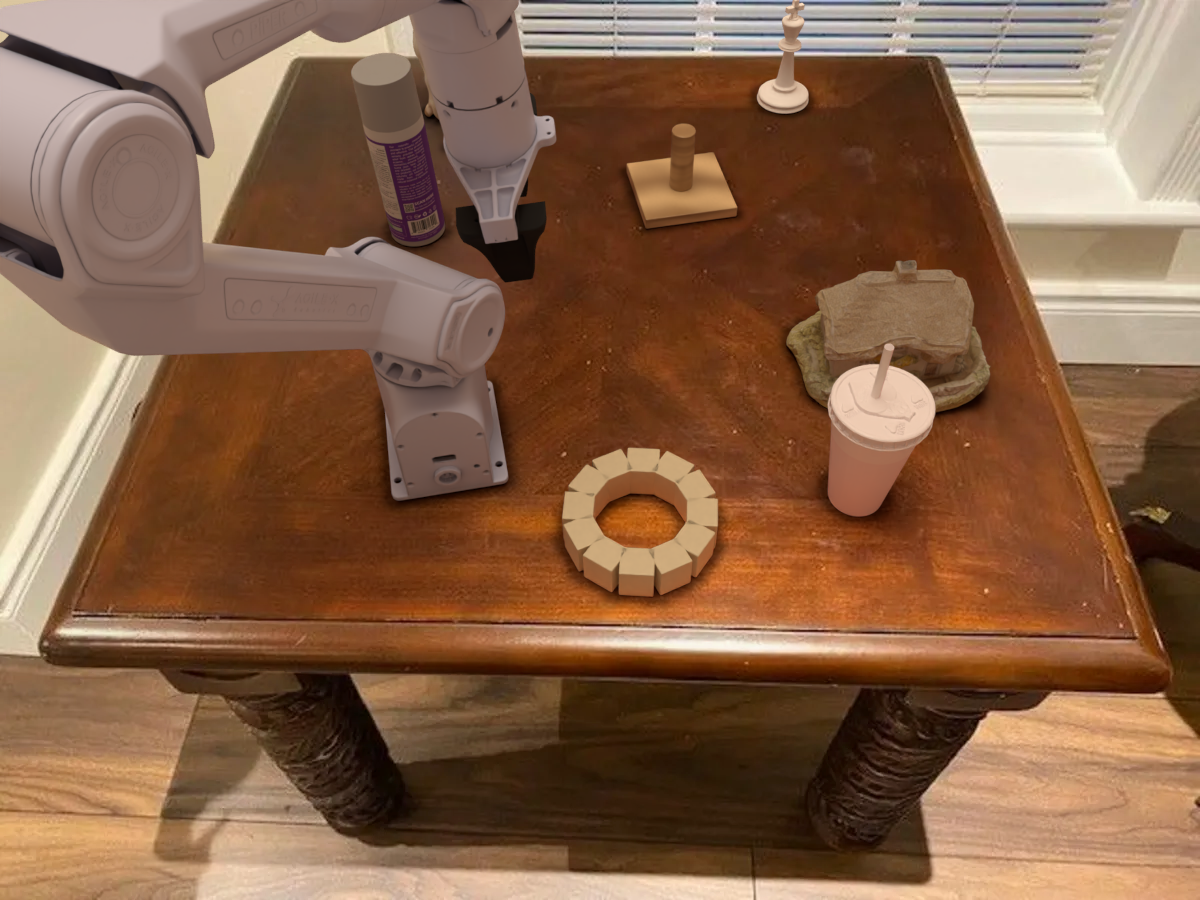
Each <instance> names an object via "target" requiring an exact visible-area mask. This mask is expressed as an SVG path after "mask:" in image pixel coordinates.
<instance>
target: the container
mask: <svg viewBox="0 0 1200 900" xmlns="http://www.w3.org/2000/svg"><path fill="white" fill-rule="evenodd" d="M350 74H351V79H352V83H353V88H354V92H355V97H356V101H357V105H358V109H359V115H360V118H361V122H362V127H363V132H364V136H365V140H366V144H367V147H368V151H369V155H370V158H371V162H372V166H373V170H374V174H375V178H376V181H377V186H378V190H379V193H380V197H381V200H382V204H383V208H384V212H385V215H386V219H387V223H388V227H389V231H390V234H391V237H392V238H393V240H394V241H395V242H397V243H398V244H400V245H402V246H405V247H406V246H407V247H421V246H426V245H430V244H431V243H434V242H435V241H437V240H439V238H440V237H441V236H442V235H443V234H444V232H445V231H446V221H445V216H444V215H445V214H444V211H443V206H442V205H443V204H442V201H441V197H440V190H439V186H438V181H437V177H436V171H435V167H434V163H433V157H432V153H431V147H430V143H429V139H428V134H427V129H426V124H425V119H424V116H423V112H422V106H421V103H420V98H419V95H418V90H417V85H416V82H415V77H414V73H413V70H412V64H411V61H410V60H409V59H408V58H407V57H405V56H404V55H402V54H398V53H395V52H380V53H379V52H378V53H374V54H371V55H367V56H365V57H363V58H361V59H360V60H358V61H357V62H356V63H355V64H354V65H353V67H352V68H351V71H350Z"/></svg>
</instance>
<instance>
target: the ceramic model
mask: <svg viewBox="0 0 1200 900" xmlns="http://www.w3.org/2000/svg"><path fill="white" fill-rule="evenodd" d="M917 266H918V264H917V261H916V260H914V259H912V260H911V259H909V260H906V261H902V260H897V261H895V263H894V267H893V269H892V271H883V270H881V271H880V270H879V271H877V270H870V271H869V270H868V271H866V272H863V273H862V272H861V273H859V274H857V276H856V277H854V278H852V279H850V280H847V281H844V282H841V283H837V284H835V285H833V286H832V287H827V288H823V289H821V290H819V291H818V292H817V293H816V295H815V296H814V301H815V305H816V306H817V307H818V308H819V310H818V311H817V312H815V314H813V315H810V316H809V317H807V319H805V320H803V321H800V322H798V324H796V325H794V327H792V329H790V331H789V333H788V335H787V337H786V341H785V343H786V346H787V347H788V349H789V350H790V351H791V353H792V354H793V356H794V358H795V359H796V362H797V364H798V367H799V369H800V371H801V375H802V379H803V382H804V386H805V389H806V391H807V394H808V396H810V397H811V398H812V399H813V400H815V402H817V403H819V405H821V406H822V407H824V408H826V409H828V400H829V396H830V394H831V391H832V387H833V385H834V383H835V382H836V380H837V379H838V378H839V377H840V376H841V375H842V374H843V373H845V372H846V371H848V370H850V369H852V368H855V367H858V366H862V365H869V364H880V360H881V357H882V353H883V350H884V346H885V345H886V344H892V345H893V346H894V351H893V354H892V357H891V361H890V364H889V366H893V367H897V368H900V369H902V370H905V371H907V372H909V373H911V374H912V375H914V376H915V377H917V378H918V379H919V380H921V381H922V382H923V383H924V384H925V385H926V387H927V388H928V389H929V391H930V392H931V394H932V396H933V399H934V402H935V413H940V412H943V411H947V410H952V409H956V408H959V407H961V406H962V405H965V404H967V403H969V402H971V401H973V400H974V399H975V398H976V397H977V396H979V394H981V393H982V392H983V391H984V390H985V388H986V386H987V385H988V383H989V381H990V377H991V372H990V368H991V365H989V364H988V362H987V359H986V358H987V357H986V355H985V352H984V351H983V342H982V338H981V336H980V335H979V333H978V332H977V331H978V330H977V328H976V326H973V321H974V312H975V311H974V310H975V302H974V299H973V295H972V294H971V289H970V288H969V286H968V283H967V280H966V279H964V278H963V277H959V276H957V275H955V274H954V273H953V271H952V270H950V269H917V268H918V267H917Z"/></svg>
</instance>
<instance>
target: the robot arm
mask: <svg viewBox="0 0 1200 900" xmlns="http://www.w3.org/2000/svg"><path fill="white" fill-rule="evenodd" d="M519 4H520V0H38V1H31V2H24V3H23V2H22V3H17V4H10V5H5V6H1V7H0V32H2V33H4V34H6V35H7V36H6V37H5V39H3V41H0V275H1V276H2V277H3V278H5V279H6V280H7V281H8V282H10V283H11V284H12V285H13V286H14V287H16V288H17V289H18V290H19V291H21V292H22V293H23V294H24V295H25V296H27V297H28V298H29V299H30V300H32V301H33V302H34V303H35V304H36V305H38V306H39V307H40V308H41V309H43V310H44V311H45V312H47V314H49V315H50V316H51V317H52V318H53V319H55V320H56V321H57V322H58V323H60V325H62V326H64V327H65V328H66V329H68V330H69V331H71V332H74V333H76V334H78V335H80V336H81V337H85V338H87V339H89V340H91V341H92V342H95V343H97V344H99V345H101V346H103V347H105V348H108V349H109V350H112V351H114V352H115V353H118V354H122V355H127V356H132V357H139V356H140V357H141V356H144V357H145V356H174V355H175V356H178V355H208V354H209V355H210V354H211V355H212V354H214V355H215V354H239V353H240V354H244V353H245V354H247V353H248V354H249V353H279V352H282V353H283V352H284V353H285V352H314V351H315V352H317V351H318V352H319V351H345V350H346V351H350V350H351V351H352V350H353V351H354V350H362V351H364V352H366V353H367V354H368V356H369V358H370V361H371V365H372V369H373V372H374V376H375V380H376V383H377V386H378V390H379V393H380V398H381V401H382V404H383V408H384V413H385V414H384V415H385V416H384V417H385V428H386V440H387V441H386V443H387V451H388V465H389V478H390V479H389V480H390V491H391V496H392V499H393V500H395V501H399V502H400V501H407V500H412V499H419V498H424V497H432V496H438V495H444V494H450V493H455V492H461V491H468V490H474V489H475V490H476V489H481V488H486V487H492V486H493V487H494V486H498V485H499V486H500V485H503V484H506V483H507V482H508V481H509V472H508V471H509V470H508V467H507V460H506V454H505V449H504V443H503V436H502V431H501V426H500V420H499V419H500V418H499V412H498V408H497V407H498V406H497V403H496V396H495V390H494V384H493V382H492V381H491V380H488V379H487V377H488V376H487V371H486V363H487V362H488V361H489V359H490V358H491V357H492V356H493V354H494V352H495V350H496V348H497V346H498V344H499V342H500V340H501V336H502V334H503V331H504V325H505V318H506V306H505V302H504V295H503V293H502V289H501V288H500V286H499V285H498V284H497V282H495V281H493V280H490V279H488V278H478V277H475V276H473V275H471V274H467V273H464V272H462V271H459V270H457V269H455V268H452V267H449V266H446V265H443V264H441V263H439V262H437V261H433V260H431V259H429V258H425V257H423V256H420V255H417V254H415V253H412V252H409V251H407V250H404V249H402V248H399V247H396V246H394V245H392V244H391V243H389V242H388V241H386V240H385V239H383V238H381V237H378V236H367V237H364V238H361V239H359V240H358V241H356V242H354V243H353V244H351V245H348V246H346V247H334V246H330V247H328V249H327V250H326V252H325V254H324V255H322V254H315V253H305V252H297V251H288V250H280V249H279V250H278V249H268V248H259V247H249V246H241V245H240V246H239V245H231V244H223V243H213V242H204V240H203V222H202V200H201V184H200V183H201V181H200V169H199V162H198V157H197V156H199V157H203V158H205V159H207V160H209V159H210V158H211V157H212V156H213V154H214V152H215V148H216V144H215V137H214V132H213V131H214V130H213V128H212V122H211V119H210V114H209V110H208V103H207V98H206V91H207V88H208V87H210V86H211V85H213V84H214V83H217V82H218V81H220V80H222V79H224V78H225V77H228V76H229V75H231V74H233V73H235V72H237V71H238V70H240V69H242V68H244V67H246V66H248V65H250V64H252V63H253V62H255V61H257V60H259V59H260V58H263V57H264V56H266V55H268V54H269V53H271V52H273V51H275V50H277V49H279V48H281V47H282V46H284V45H286V44H288V43H290V42H292V41H293V40H295V39H297V38H299V37H301V36H303V35H305V34H306V33H308V32H312V33H313V34H314V35H316V36H318V37H319V38H322V39H323V40H325V41H328V42H332V43H338V44H344V43H345V44H346V43H350V42H353V41H356V40H358V39H361V38H362V37H364V36H367V35H369V34H371V33H373V32H376V31H377V30H380V29H383V28H385V27H387V26H389V25H391V24H393V23H395V22H398V21H400V20H402V19H404V18H406V17H409V20H410V23H411V27H412V32H413V31H414V34H415V38H416V41H417V45H418V48H419V51H420V55H421V58H422V62H423V65H424V69H425V72H426V76H427V79H428V82H429V86H430V89H431V93H432V96H433V100H434V103H435V107H436V110H437V114H438V117H439V119H438V120H439V124H440V128H441V130H442V135H443V141H442V143H443V150H444V152H445V156H446V158H447V160H448V163H449V164H450V166H451V167H452V169H453V171H454V173H455V174H456V176H457V178H458V180H459V182H460V183H461V185H462V186H463V188H464V190H465V192H466V193H467V195H468V197H469V199H470V200H471V203H472V205H465V206H456V207H455V226H456V231H457V233H458V236H459V238H460V239H461V241H462V243H464V244H466V245H468V246H470V247H472V248H474V249H475V250H477V251H479V253H481V254H482V255H483V257H485V258H486V259H487V261H488V262H489V264H490V265H491V266H492V268H493V270H494V271H495V272H496V274H497V275H498V276H499V278H500V279H501V281H502V282H503V283H506V284H507V283H513V282H514V283H515V282H520V281H529V280H532V279H533V278H534V275H535V270H536V251H537V244H538V242H539V240H540V238H541V236H542V235H543V233H545V230H546V227H547V219H548V218H547V206H546V200H542V201H536V202H535V201H534V202H529V203H521V204H518V203H519V201H520V198H525V197H527V196H528V191H529V190H528V189H529V175H530V173H531V170H532V168H533V165H534V162H535V160H536V157H537V155H538V152H539V151H540V149H542V148H545V147H550V146H552V145H554V144H556V142H557V133H556V132H557V131H556V123H555V119H554V117H552V116H550V115H542V116H541V115H540V116H538V108H537V100H536V97H535V95H534V94H533V93H532V92H530V87H529V82H528V77H527V71H526V66H525V65H526V64H525V60H524V55H523V49H522V44H521V39H520V34H519V29H518V22H517V18H516V17H517V16H516V12H515V11H516V10H517V9H518V7H519ZM498 465H501V466H498ZM399 481H400V482H399Z"/></svg>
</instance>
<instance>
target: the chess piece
mask: <svg viewBox="0 0 1200 900" xmlns="http://www.w3.org/2000/svg"><path fill="white" fill-rule="evenodd" d="M791 2H792V3H791V5H788V6H785V11H784V12H785V13H786V14H787V15H785V16H783V17H782V19H781V25H782V29H783V34H784V35H783V36H784V37H783V38H781V39H780V40H779V41H778V43H777V47H778V49H779V50H781V51H782V57H781V62H780V65H779V69H778V72H777V76H776V78H773V79H769V80H767V81H765V82H763V84H761V85H760V86H759V89H758V91H757V94H756V101H757V103H758V105H759V106H760V107H762V108H763V109H764V110H766V111H768V112H771V113H774V114H781V115H784V114H785V115H787V114H788V115H789V114H794V113H797V112H800V111H802V110H804V109H805V108H806V107H807V106H808V104H809V90H808V89H807V87H806V86H805V85H804V84H802V83H800V81H797V80H795V53H797V52H798V51H801V49H802V41H800V40H799V39H798V37H799V35H800V33H801V31H802V29H803V27H804V25H805V19H804V17H802V16H801V15H799V12H800V11H804V10H805V7H806V6H805V4H804V3H803V2H800V0H792V1H791Z"/></svg>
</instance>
